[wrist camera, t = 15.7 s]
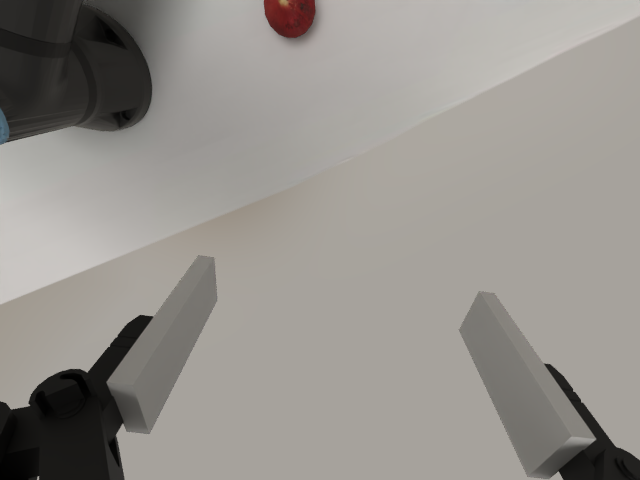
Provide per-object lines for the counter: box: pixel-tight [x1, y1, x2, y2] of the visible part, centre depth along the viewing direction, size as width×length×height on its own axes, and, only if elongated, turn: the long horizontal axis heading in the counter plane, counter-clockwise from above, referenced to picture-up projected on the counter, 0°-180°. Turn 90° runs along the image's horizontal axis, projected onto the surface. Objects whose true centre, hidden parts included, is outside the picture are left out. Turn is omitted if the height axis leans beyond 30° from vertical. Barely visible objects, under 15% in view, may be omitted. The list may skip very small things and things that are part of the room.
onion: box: [264, 0, 315, 38], centre depth 33 cm, size 6×6×8 cm
